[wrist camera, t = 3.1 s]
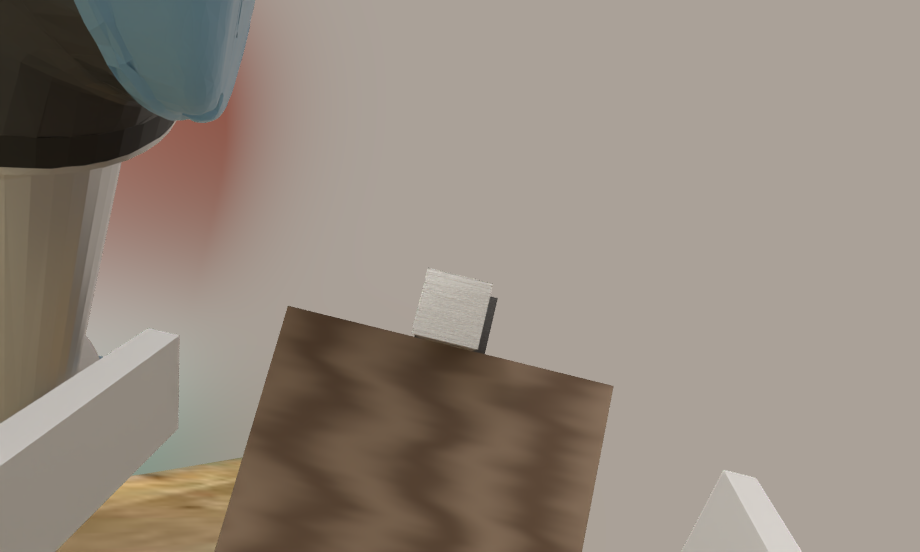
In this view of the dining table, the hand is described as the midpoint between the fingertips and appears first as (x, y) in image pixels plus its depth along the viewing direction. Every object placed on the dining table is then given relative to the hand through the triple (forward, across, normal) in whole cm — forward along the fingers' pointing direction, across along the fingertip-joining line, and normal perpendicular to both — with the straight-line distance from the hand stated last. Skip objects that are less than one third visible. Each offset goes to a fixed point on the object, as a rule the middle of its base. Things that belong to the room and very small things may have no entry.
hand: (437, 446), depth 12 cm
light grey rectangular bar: (+21, -1, -9) cm, 23 cm away
